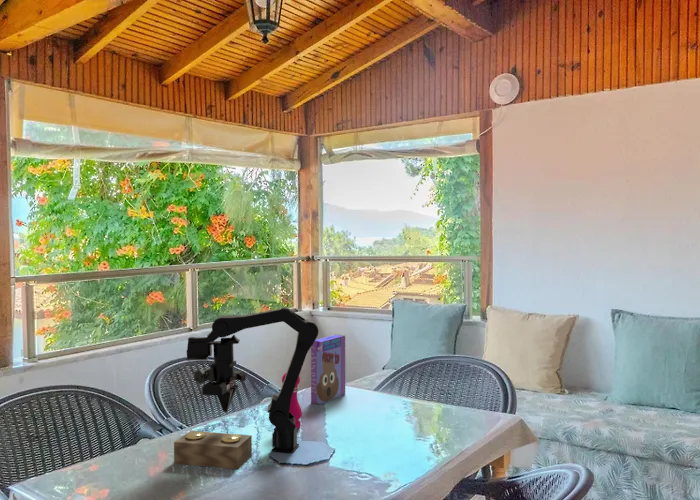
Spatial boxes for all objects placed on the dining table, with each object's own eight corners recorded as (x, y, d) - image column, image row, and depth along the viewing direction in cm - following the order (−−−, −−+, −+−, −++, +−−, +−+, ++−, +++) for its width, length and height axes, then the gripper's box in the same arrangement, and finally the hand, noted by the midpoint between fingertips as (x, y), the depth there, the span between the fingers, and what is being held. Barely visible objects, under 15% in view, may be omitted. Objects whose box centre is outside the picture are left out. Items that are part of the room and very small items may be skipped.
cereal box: (321, 404, 225) (321, 341, 225) (311, 403, 228) (310, 340, 227) (345, 394, 240) (345, 335, 240) (335, 392, 243) (335, 334, 242)
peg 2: (243, 457, 170) (243, 435, 170) (236, 464, 165) (236, 441, 165) (226, 455, 171) (226, 433, 171) (218, 462, 166) (218, 439, 166)
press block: (251, 456, 172) (251, 435, 172) (237, 469, 162) (237, 447, 162) (191, 450, 176) (191, 430, 176) (174, 463, 166) (173, 441, 166)
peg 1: (208, 454, 172) (208, 432, 172) (199, 460, 167) (199, 438, 167) (191, 452, 174) (191, 430, 173) (182, 459, 168) (182, 436, 168)
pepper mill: (298, 431, 194) (298, 370, 194) (277, 429, 196) (277, 369, 195) (304, 424, 201) (304, 365, 201) (284, 423, 203) (283, 364, 202)
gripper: (211, 352, 186) (213, 402, 187) (183, 365, 168) (185, 420, 168) (245, 352, 184) (247, 403, 184) (220, 366, 166) (222, 421, 166)
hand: (225, 411), depth 176 cm, fingers closed
